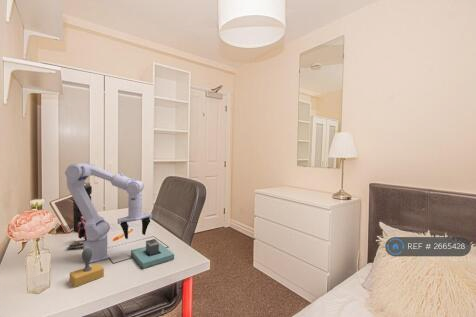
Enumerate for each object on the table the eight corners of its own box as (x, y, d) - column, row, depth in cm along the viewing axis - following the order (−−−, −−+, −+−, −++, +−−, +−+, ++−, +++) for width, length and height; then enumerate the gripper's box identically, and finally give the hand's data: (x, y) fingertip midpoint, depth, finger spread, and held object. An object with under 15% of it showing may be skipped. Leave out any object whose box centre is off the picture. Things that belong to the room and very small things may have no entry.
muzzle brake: (69, 230, 141) (77, 234, 135) (69, 183, 140) (76, 185, 134) (87, 225, 149) (94, 229, 143) (86, 181, 148) (94, 183, 142)
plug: (150, 259, 106) (150, 244, 106) (145, 255, 110) (145, 241, 110) (158, 257, 109) (159, 242, 109) (154, 253, 113) (154, 238, 112)
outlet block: (143, 269, 99) (143, 263, 99) (130, 255, 111) (130, 250, 111) (174, 259, 108) (174, 254, 108) (159, 247, 120) (159, 242, 120)
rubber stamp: (98, 271, 97) (98, 242, 96) (104, 276, 93) (103, 246, 92) (69, 281, 89) (69, 250, 89) (74, 288, 85) (74, 255, 85)
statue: (74, 244, 125) (74, 215, 125) (94, 242, 127) (94, 214, 128) (66, 251, 114) (66, 219, 115) (88, 248, 117) (88, 217, 118)
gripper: (120, 211, 101) (120, 242, 101) (154, 206, 110) (154, 235, 111) (116, 208, 106) (116, 237, 107) (148, 203, 115) (148, 230, 116)
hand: (135, 236), depth 109 cm, fingers open, 7 cm apart
